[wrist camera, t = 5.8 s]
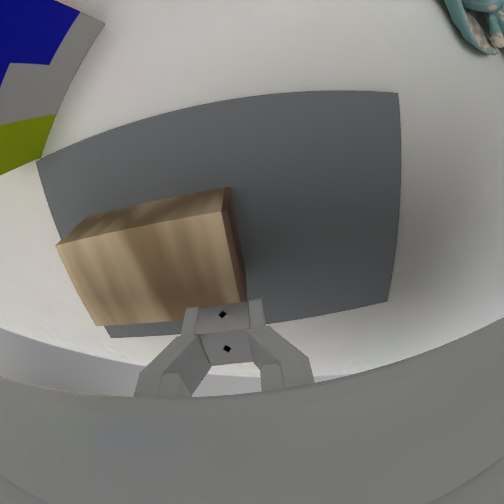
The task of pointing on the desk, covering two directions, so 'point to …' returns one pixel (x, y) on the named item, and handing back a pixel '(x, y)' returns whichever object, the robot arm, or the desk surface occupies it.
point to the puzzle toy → (37, 71)
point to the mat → (260, 190)
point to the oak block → (157, 259)
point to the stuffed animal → (496, 14)
